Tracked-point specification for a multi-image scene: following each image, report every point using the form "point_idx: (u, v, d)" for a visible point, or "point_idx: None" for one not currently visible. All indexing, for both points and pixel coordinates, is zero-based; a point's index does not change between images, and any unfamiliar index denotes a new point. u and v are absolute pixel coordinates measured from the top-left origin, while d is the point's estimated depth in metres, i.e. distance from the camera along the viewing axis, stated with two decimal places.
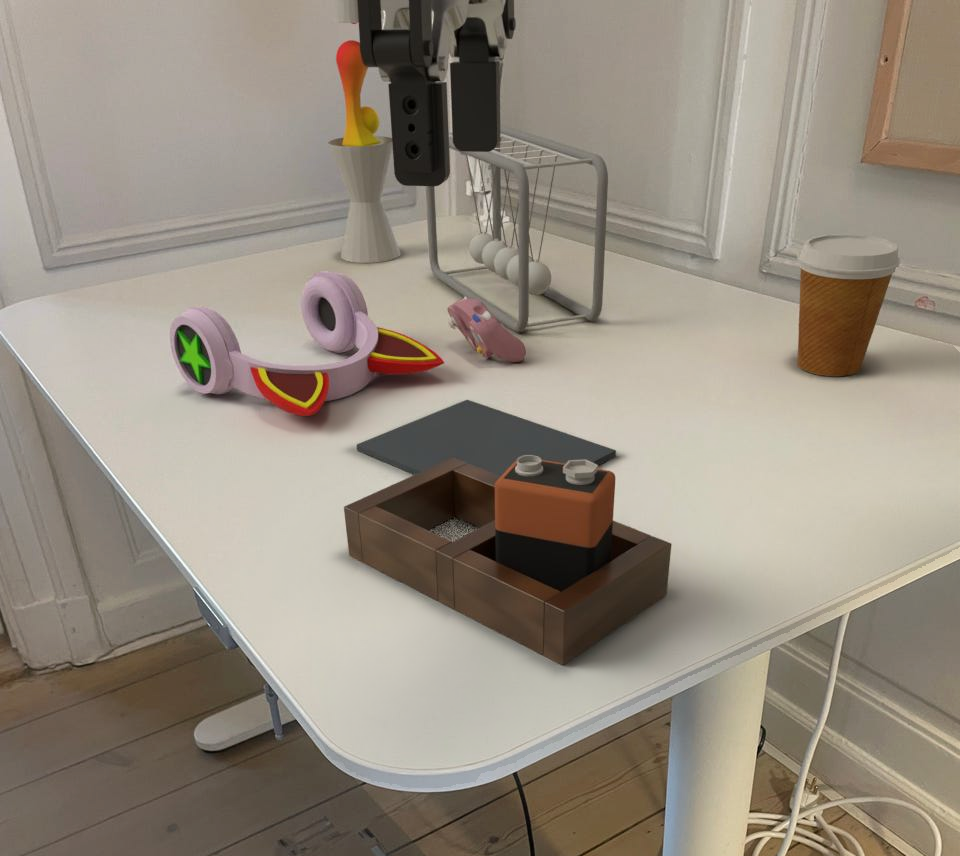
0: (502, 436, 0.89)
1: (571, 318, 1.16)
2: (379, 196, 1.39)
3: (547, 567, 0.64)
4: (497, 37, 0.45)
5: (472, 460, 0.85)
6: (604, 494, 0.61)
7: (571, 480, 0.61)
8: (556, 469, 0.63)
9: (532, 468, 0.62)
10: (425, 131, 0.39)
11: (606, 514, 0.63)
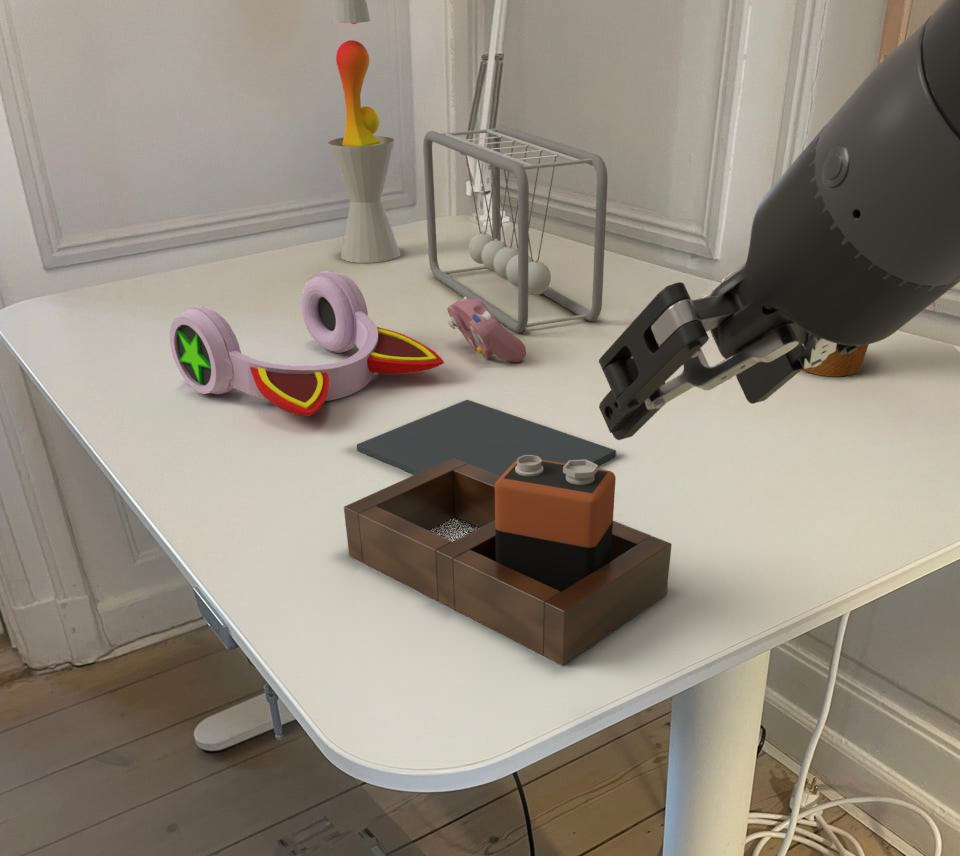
0: (502, 436, 0.89)
1: (571, 318, 1.16)
2: (379, 196, 1.39)
3: (547, 567, 0.64)
4: (806, 362, 0.48)
5: (472, 460, 0.85)
6: (604, 494, 0.61)
7: (571, 480, 0.61)
8: (556, 469, 0.63)
9: (532, 468, 0.62)
10: (620, 416, 0.46)
11: (606, 514, 0.63)
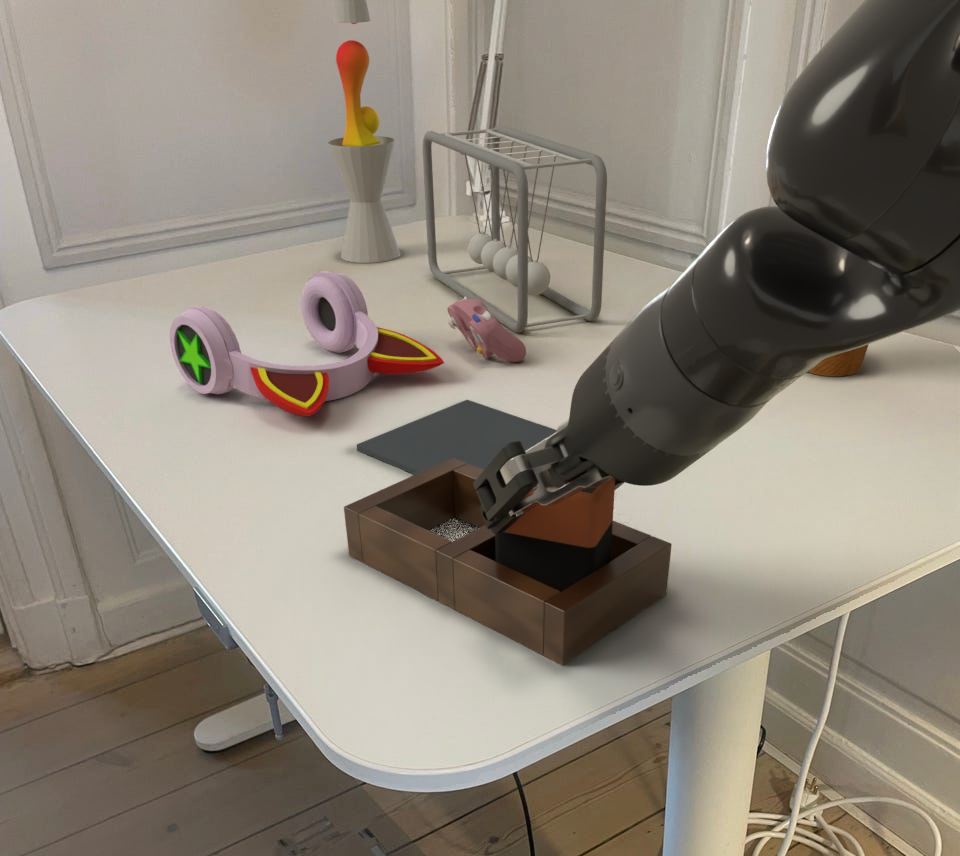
0: (502, 436, 0.89)
1: (570, 318, 1.16)
2: (379, 196, 1.39)
3: (547, 568, 0.64)
4: None
5: (472, 460, 0.85)
6: (604, 494, 0.61)
7: None
8: None
9: None
10: None
11: (606, 514, 0.63)
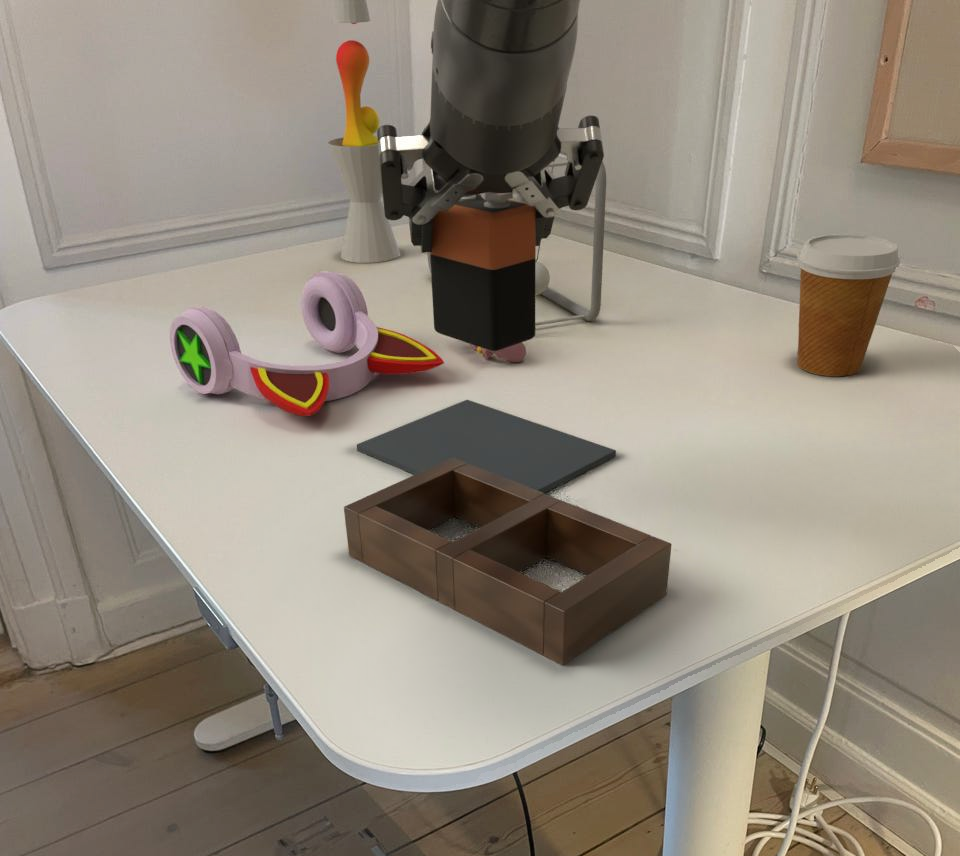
0: (502, 436, 0.89)
1: (569, 318, 1.16)
2: (379, 196, 1.39)
3: (463, 292, 0.69)
4: (538, 210, 0.66)
5: (472, 460, 0.85)
6: (510, 219, 0.65)
7: (485, 204, 0.66)
8: (486, 199, 0.68)
9: None
10: None
11: (517, 244, 0.67)
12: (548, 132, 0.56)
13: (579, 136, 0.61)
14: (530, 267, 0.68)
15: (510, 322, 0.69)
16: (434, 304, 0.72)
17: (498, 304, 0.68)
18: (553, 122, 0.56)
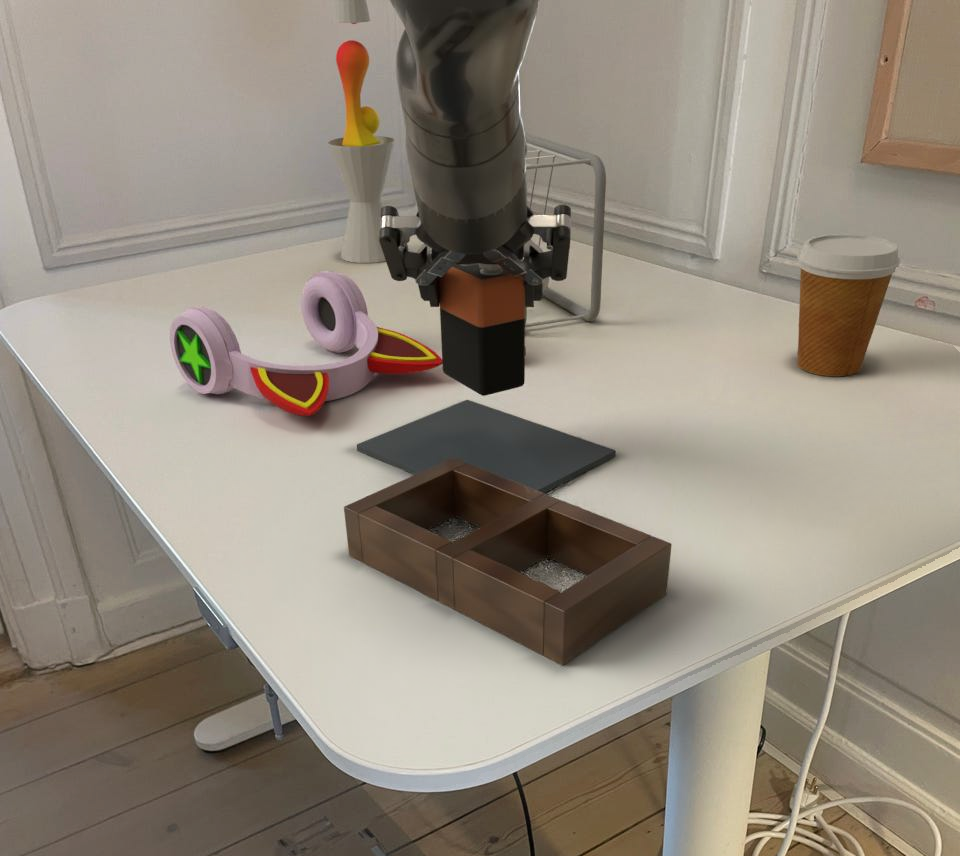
0: (502, 436, 0.89)
1: (569, 318, 1.16)
2: (379, 196, 1.39)
3: (461, 343, 0.80)
4: None
5: (472, 460, 0.85)
6: (498, 285, 0.76)
7: (481, 270, 0.77)
8: None
9: None
10: None
11: (505, 306, 0.77)
12: (507, 223, 0.66)
13: (550, 222, 0.70)
14: (518, 326, 0.79)
15: (498, 372, 0.80)
16: (442, 350, 0.83)
17: (485, 357, 0.78)
18: (511, 215, 0.66)
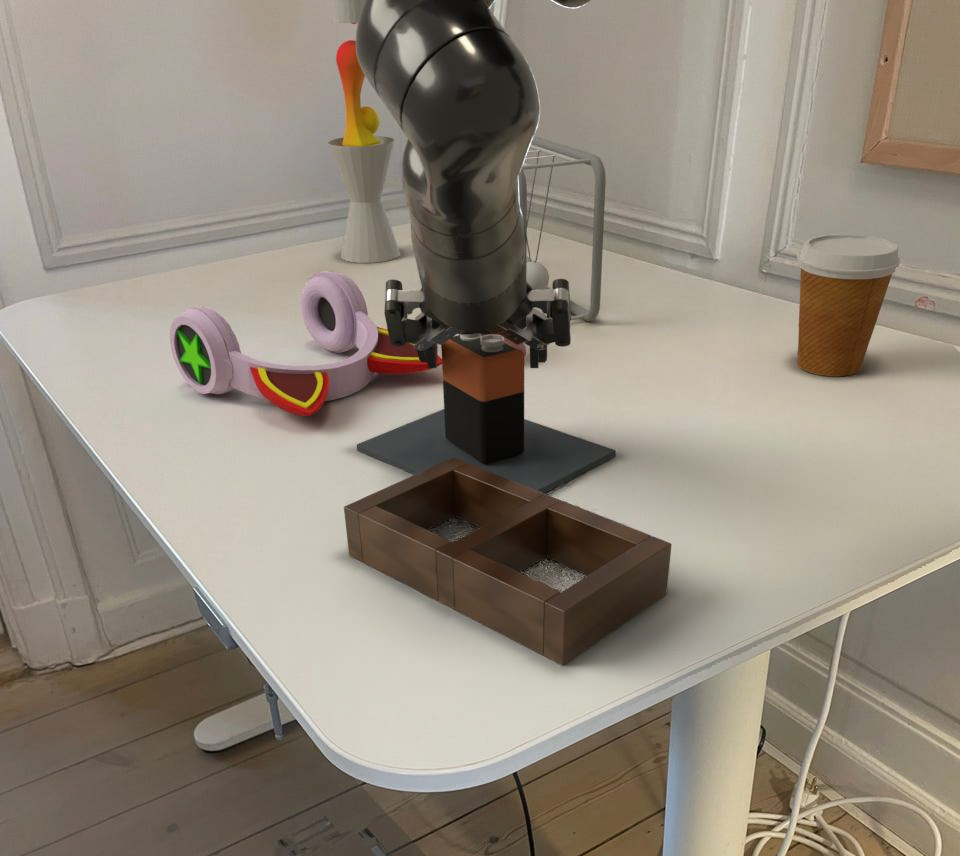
0: None
1: None
2: (379, 196, 1.39)
3: (463, 414, 0.83)
4: (529, 345, 0.79)
5: (472, 460, 0.85)
6: (499, 362, 0.79)
7: (482, 347, 0.80)
8: None
9: (467, 334, 0.82)
10: None
11: (506, 381, 0.80)
12: (507, 303, 0.69)
13: (548, 296, 0.73)
14: (518, 399, 0.82)
15: (499, 442, 0.83)
16: (445, 418, 0.87)
17: (486, 428, 0.82)
18: (511, 297, 0.69)
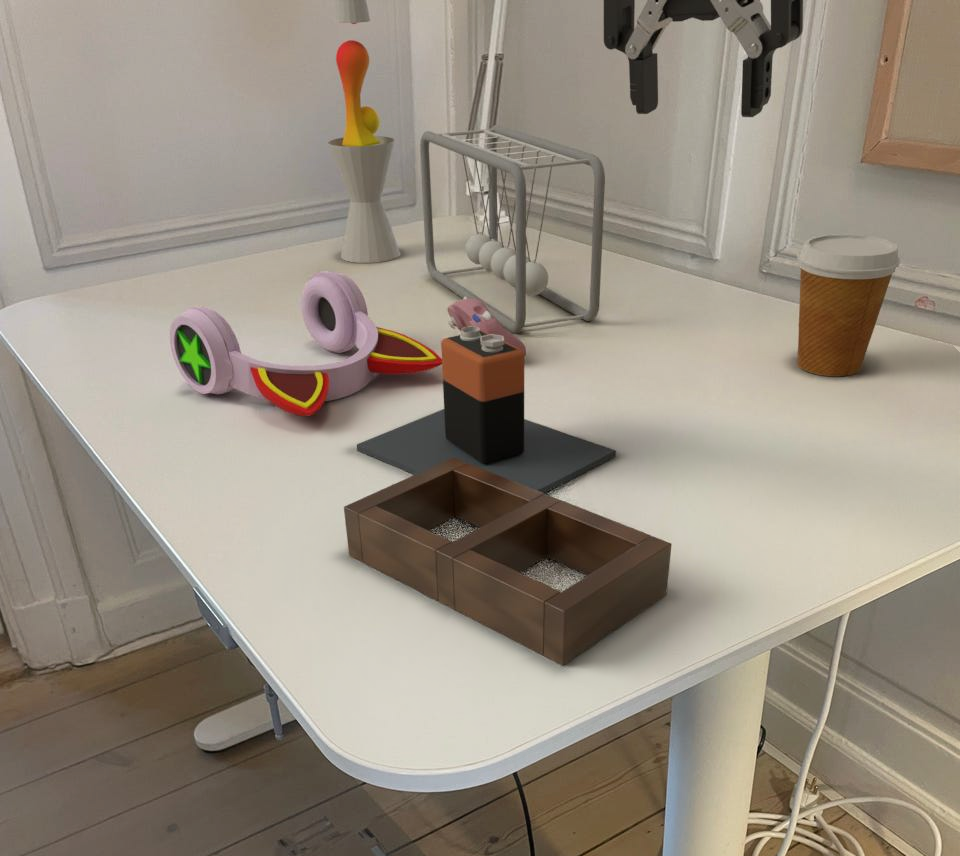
0: None
1: (568, 318, 1.16)
2: (379, 196, 1.39)
3: (463, 414, 0.83)
4: (742, 44, 0.68)
5: (472, 460, 0.85)
6: (499, 362, 0.79)
7: (482, 347, 0.80)
8: None
9: (467, 334, 0.82)
10: (631, 82, 0.75)
11: (506, 381, 0.80)
12: None
13: None
14: (518, 399, 0.82)
15: (499, 442, 0.83)
16: (445, 418, 0.87)
17: (486, 428, 0.82)
18: None
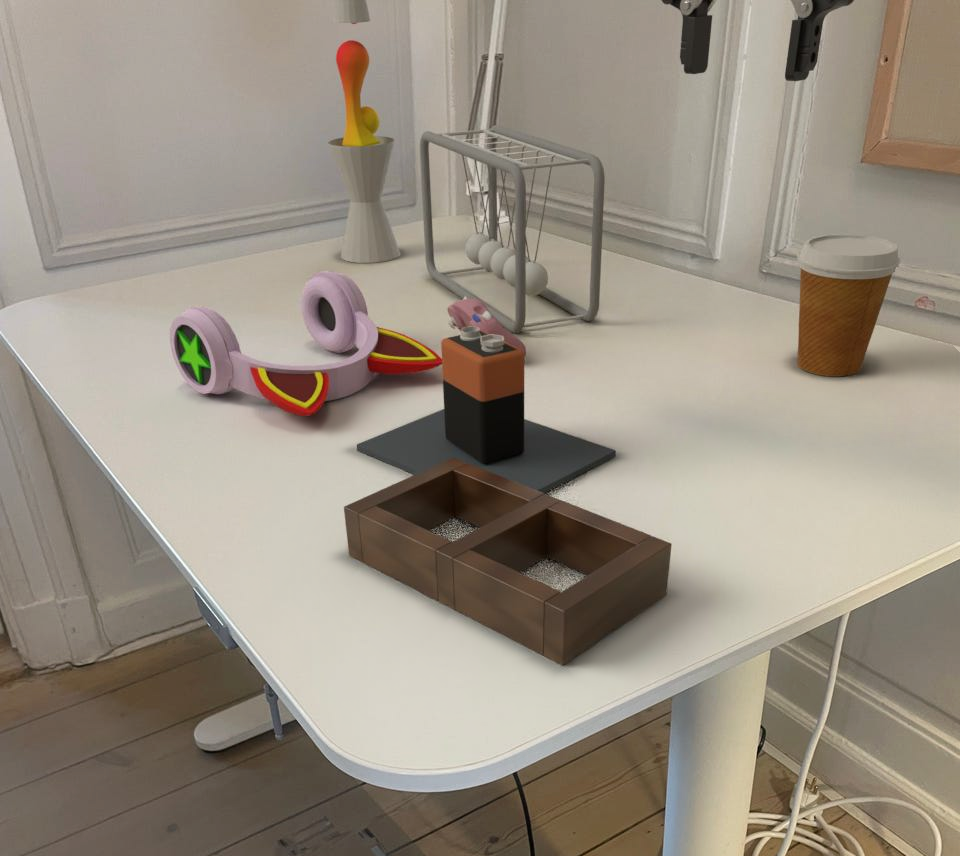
0: None
1: (568, 318, 1.16)
2: (379, 196, 1.39)
3: (463, 414, 0.83)
4: (793, 2, 0.68)
5: (472, 460, 0.85)
6: (499, 362, 0.79)
7: (482, 347, 0.80)
8: None
9: (467, 334, 0.82)
10: (682, 40, 0.75)
11: (506, 381, 0.80)
12: None
13: None
14: (518, 399, 0.82)
15: (499, 442, 0.83)
16: (445, 418, 0.87)
17: (486, 428, 0.82)
18: None
